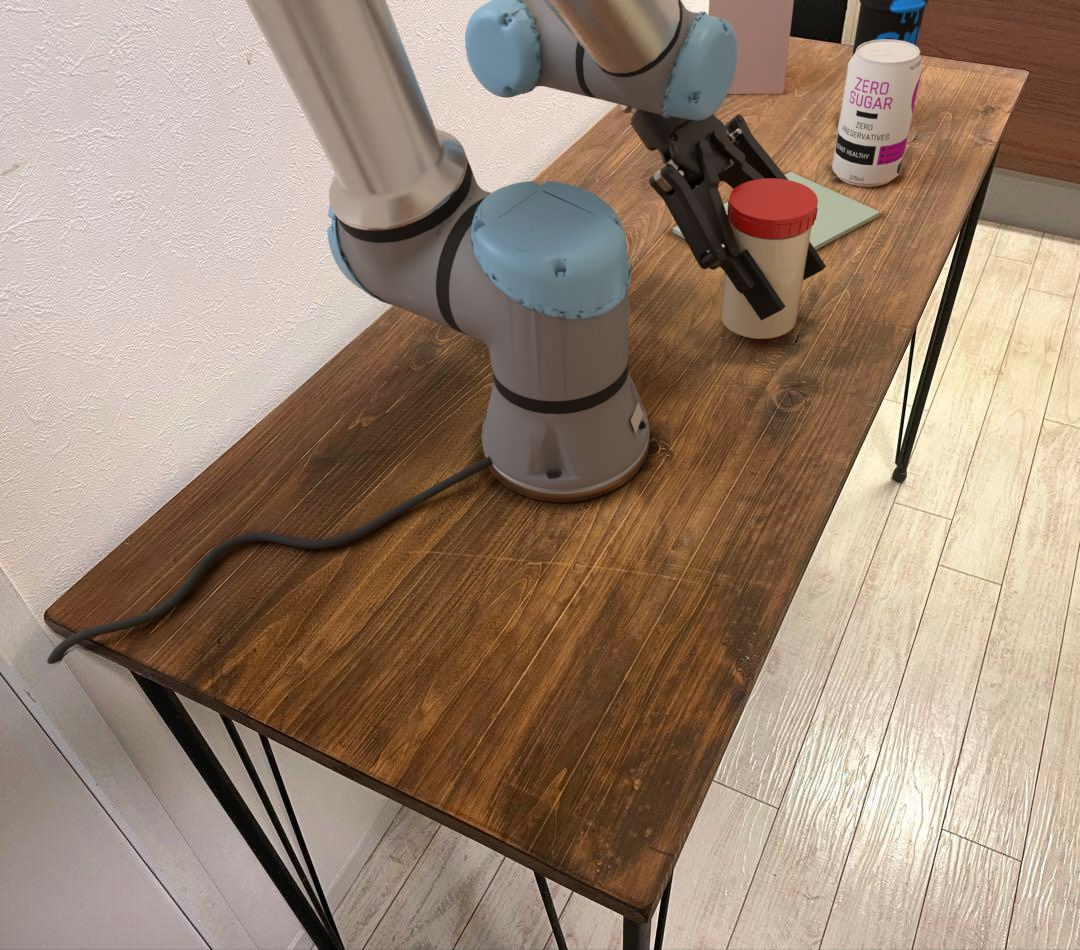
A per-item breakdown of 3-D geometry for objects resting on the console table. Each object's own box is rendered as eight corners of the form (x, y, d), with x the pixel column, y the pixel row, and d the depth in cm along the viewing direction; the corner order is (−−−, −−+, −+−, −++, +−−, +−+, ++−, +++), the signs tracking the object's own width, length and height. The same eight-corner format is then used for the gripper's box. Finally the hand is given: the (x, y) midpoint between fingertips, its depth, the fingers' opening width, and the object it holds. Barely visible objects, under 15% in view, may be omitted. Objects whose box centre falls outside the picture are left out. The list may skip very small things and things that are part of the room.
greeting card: (786, 91, 134) (799, -20, 124) (757, 109, 131) (767, -4, 120) (722, 74, 140) (730, -34, 130) (692, 90, 137) (697, -19, 126)
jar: (759, 348, 90) (774, 233, 81) (704, 315, 94) (713, 203, 86) (812, 319, 93) (832, 205, 84) (757, 288, 97) (771, 177, 89)
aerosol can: (827, 118, 127) (851, -41, 113) (875, 104, 129) (904, -54, 115) (866, 140, 122) (896, -24, 108) (915, 125, 124) (951, -38, 110)
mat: (758, 280, 100) (759, 276, 100) (672, 232, 109) (672, 227, 108) (879, 216, 108) (880, 211, 108) (790, 175, 116) (790, 171, 116)
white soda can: (892, 157, 118) (918, 35, 107) (904, 188, 112) (932, 63, 102) (827, 158, 119) (846, 38, 108) (835, 190, 113) (856, 66, 102)
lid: (772, 248, 82) (775, 229, 80) (709, 215, 87) (710, 197, 85) (834, 218, 85) (837, 199, 83) (769, 188, 90) (771, 169, 88)
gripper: (692, 78, 94) (814, 262, 98) (571, 155, 83) (713, 358, 87) (743, 33, 88) (871, 231, 91) (619, 109, 77) (770, 330, 80)
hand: (794, 293), depth 89 cm, fingers closed on jar, 8 cm apart
